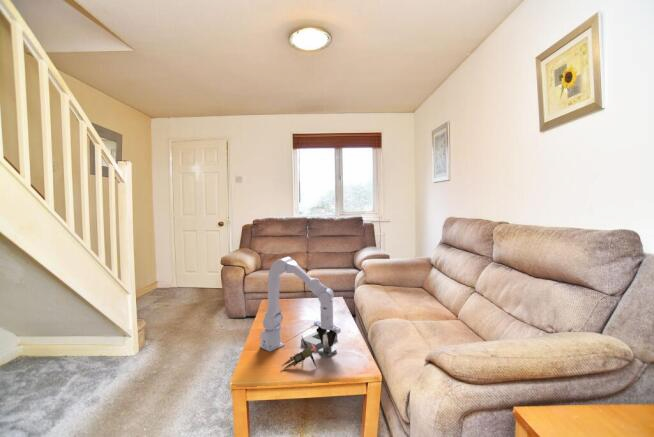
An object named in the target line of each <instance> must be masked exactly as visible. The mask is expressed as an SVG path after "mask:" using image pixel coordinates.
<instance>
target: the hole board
mask: <svg viewBox="0 0 654 437" xmlns="http://www.w3.org/2000/svg"><path fill="white" fill-rule="evenodd" d="M329 331H330V330H327V331H326V332H329ZM303 339H304V340H305V342H306V344H307V345H308V347H309V348H312V347H313V346H315V347H316V352H318V350H320V349H322V348H323V344H322V343H321V340H320V337H319V334H318V332H317V331H315V332H312V333H311V334H309V335H307V336H305V337H303ZM336 341H338V334H336V336H335V339H334V342H336ZM312 345H313V346H312ZM300 346H302V347H305V345H304V343H303V340H302V338H300ZM305 348H306V347H305Z"/></svg>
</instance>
